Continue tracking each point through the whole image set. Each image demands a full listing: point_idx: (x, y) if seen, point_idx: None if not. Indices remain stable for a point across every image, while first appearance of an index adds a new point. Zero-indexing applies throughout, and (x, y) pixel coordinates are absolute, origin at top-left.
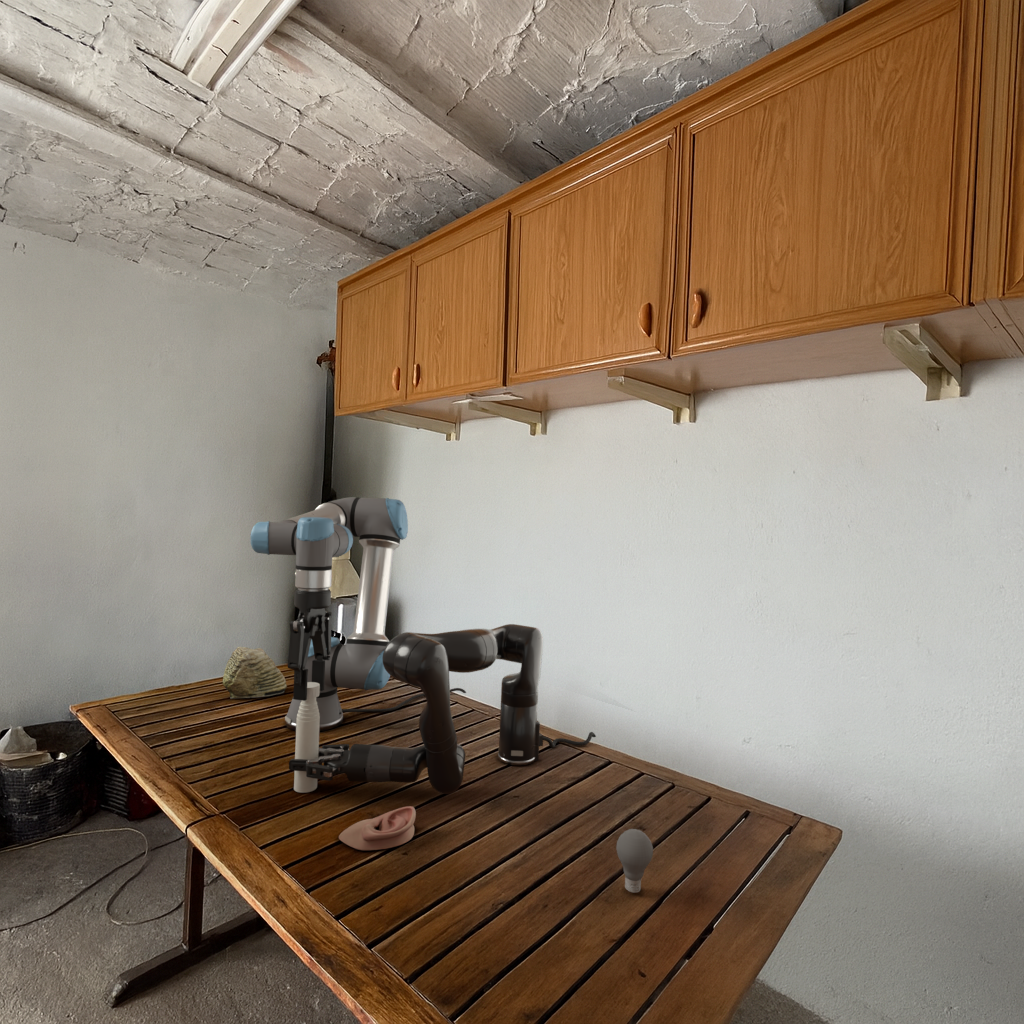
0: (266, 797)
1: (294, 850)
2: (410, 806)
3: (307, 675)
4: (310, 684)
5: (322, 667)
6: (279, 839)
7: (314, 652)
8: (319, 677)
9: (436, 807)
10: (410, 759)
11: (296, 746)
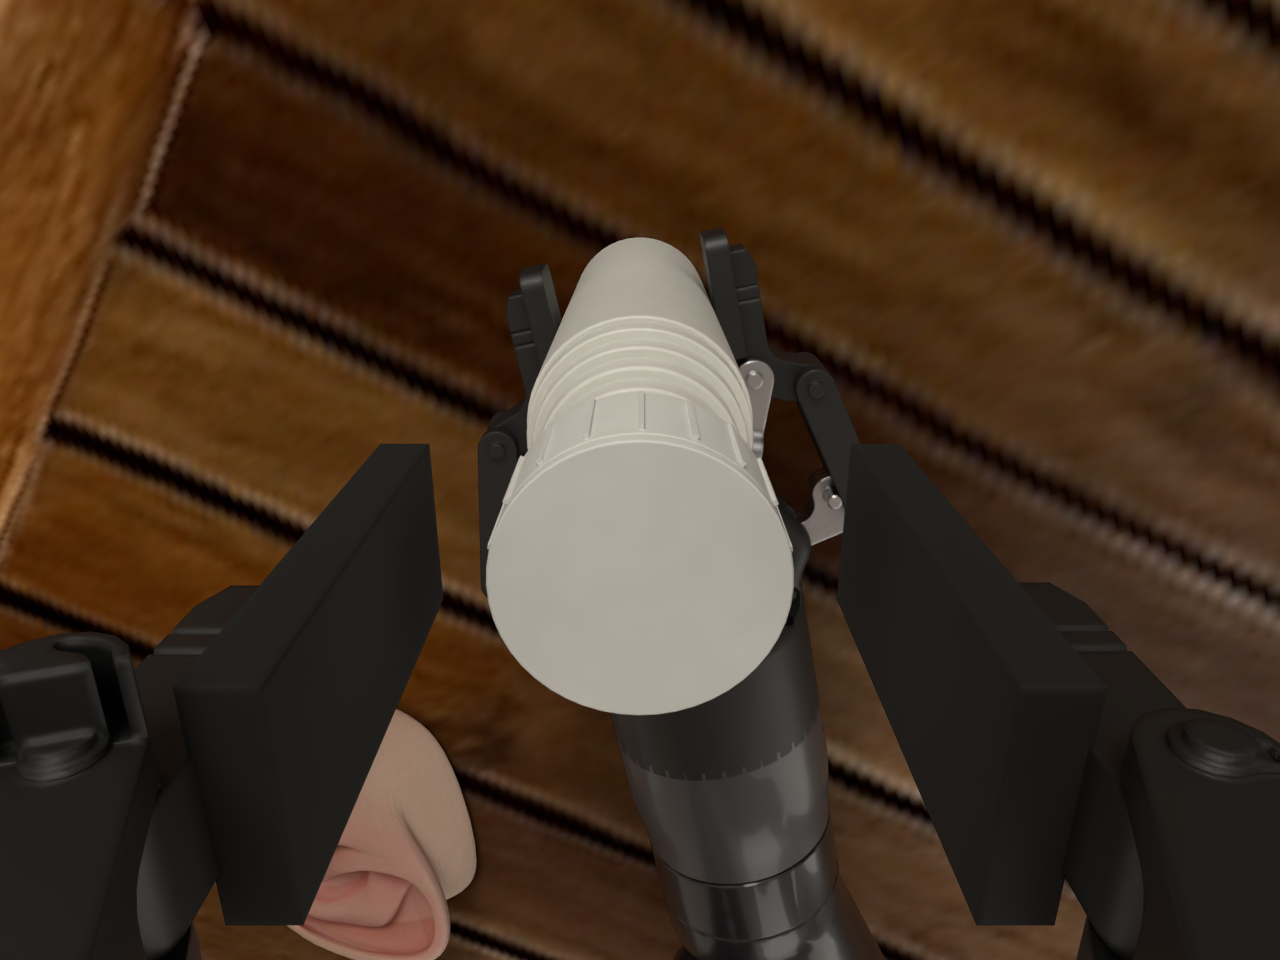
0: (460, 152)
1: (108, 565)
2: (441, 943)
3: (340, 824)
4: (658, 593)
5: (933, 816)
6: (145, 463)
7: (1166, 866)
8: (886, 652)
9: (646, 908)
10: (694, 952)
11: (566, 313)
